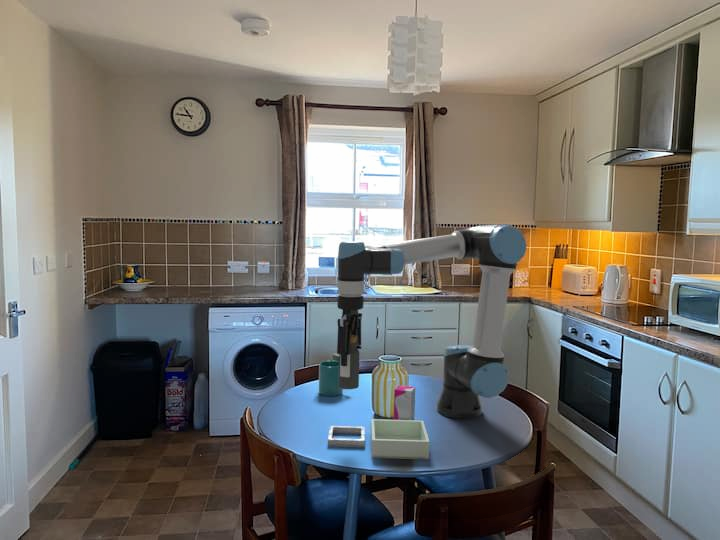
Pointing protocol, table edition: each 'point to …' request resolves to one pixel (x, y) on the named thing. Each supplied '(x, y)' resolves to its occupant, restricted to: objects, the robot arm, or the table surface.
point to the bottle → (351, 367)
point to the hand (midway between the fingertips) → (349, 373)
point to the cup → (329, 378)
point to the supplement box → (404, 403)
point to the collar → (346, 442)
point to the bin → (399, 439)
